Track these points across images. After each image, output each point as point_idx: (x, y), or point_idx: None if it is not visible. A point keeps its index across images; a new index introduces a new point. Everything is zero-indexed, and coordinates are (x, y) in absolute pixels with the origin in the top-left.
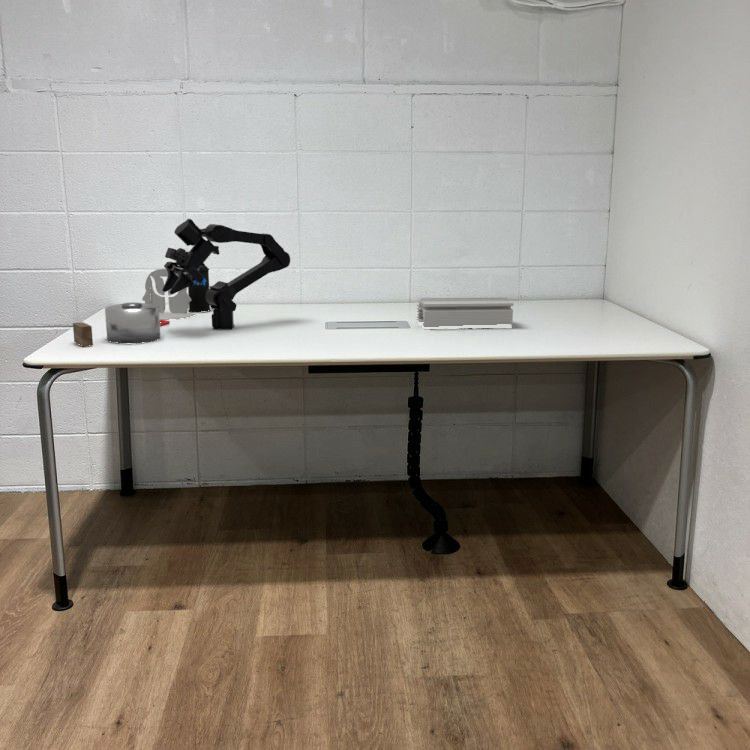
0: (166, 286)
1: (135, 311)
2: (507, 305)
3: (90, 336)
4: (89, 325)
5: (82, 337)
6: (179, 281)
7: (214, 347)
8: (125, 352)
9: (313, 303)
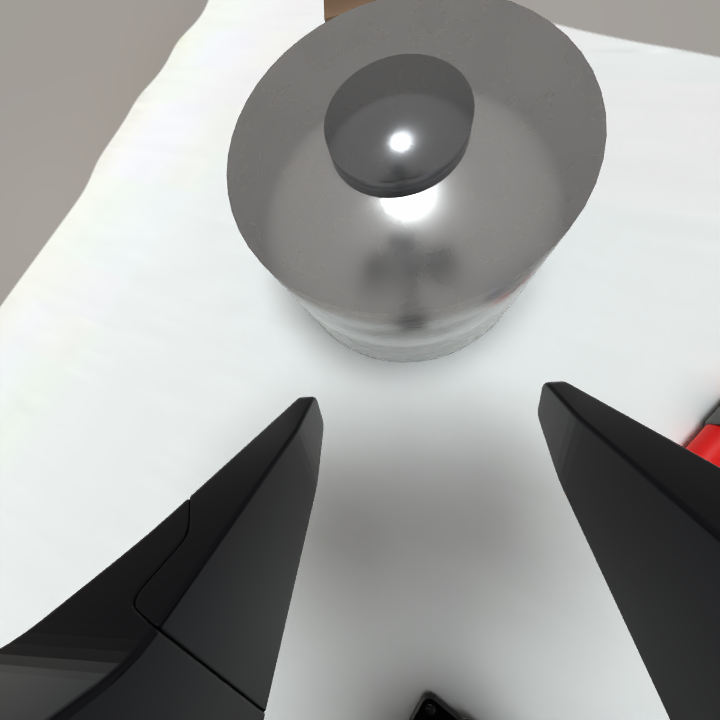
0: (581, 447)
1: (234, 135)
2: None
3: None
4: (343, 11)
5: None
6: (126, 584)
7: (73, 472)
8: (189, 182)
9: None
